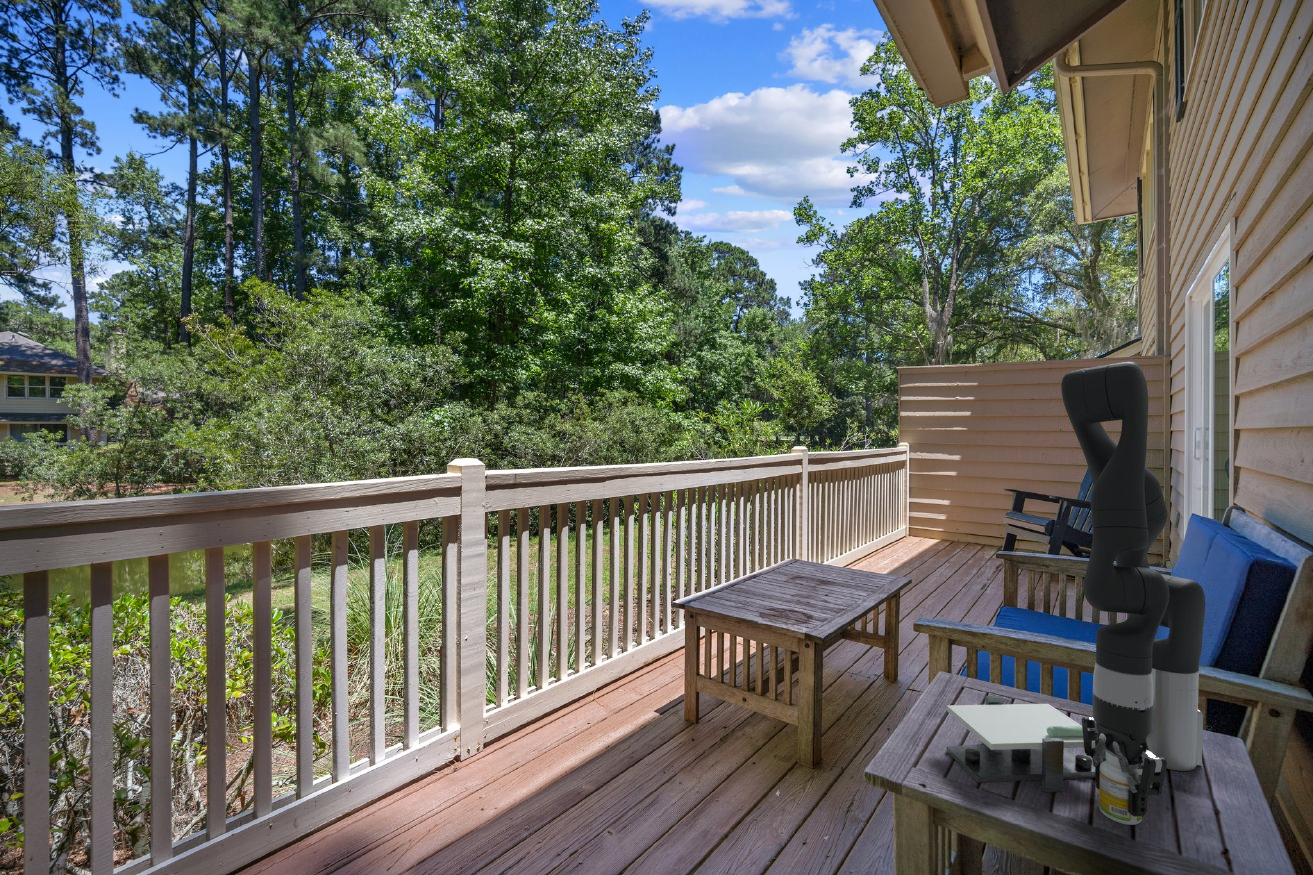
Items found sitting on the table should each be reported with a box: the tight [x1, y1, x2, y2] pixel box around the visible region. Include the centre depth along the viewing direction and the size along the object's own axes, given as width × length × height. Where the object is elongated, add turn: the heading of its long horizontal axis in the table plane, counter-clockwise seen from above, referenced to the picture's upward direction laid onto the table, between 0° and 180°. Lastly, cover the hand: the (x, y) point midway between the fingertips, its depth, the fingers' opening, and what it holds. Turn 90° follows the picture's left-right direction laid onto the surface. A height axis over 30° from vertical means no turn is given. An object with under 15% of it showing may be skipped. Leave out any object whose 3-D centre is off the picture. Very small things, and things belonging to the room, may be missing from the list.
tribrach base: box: [946, 695, 1095, 793], centre depth 113 cm, size 22×17×8 cm
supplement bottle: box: [1098, 749, 1143, 826], centre depth 98 cm, size 5×5×10 cm
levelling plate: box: [946, 703, 1095, 750], centre depth 113 cm, size 20×14×3 cm
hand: (1119, 801), depth 99 cm, fingers open, 5 cm apart
